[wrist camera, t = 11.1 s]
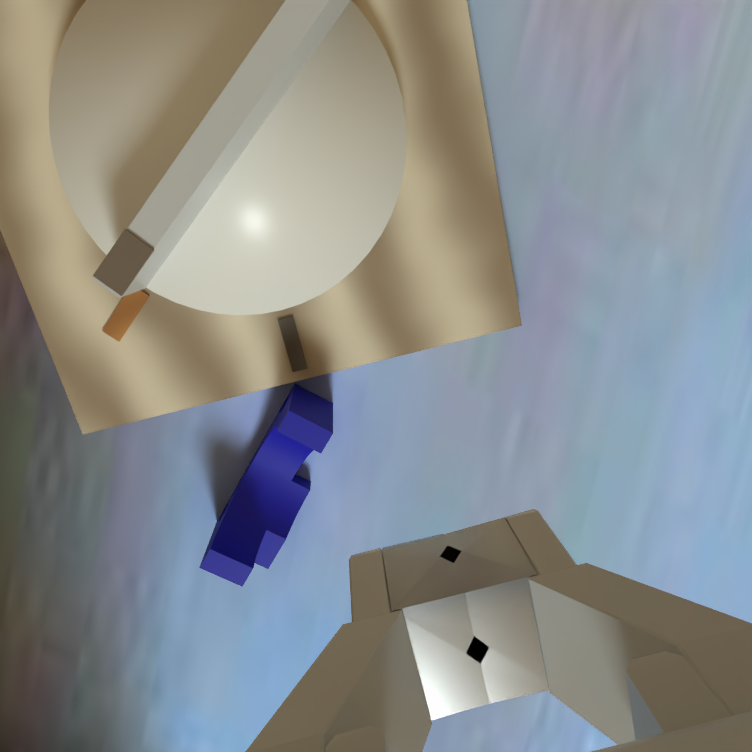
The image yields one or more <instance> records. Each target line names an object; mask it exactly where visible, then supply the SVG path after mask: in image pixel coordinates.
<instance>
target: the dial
mask: <svg viewBox="0 0 752 752" xmlns="http://www.w3.org/2000/svg"><path fill="white" fill-rule="evenodd" d="M49 130H50V139H51V145H52V150H53V156H54V161H55V164H56V168H57V171H58V174H59V177H60V181H61V184H62V186H63V188H64V191H65V193H66V195H67V197H68V200H69V202H70V204H71V207H72V208H73V210H74V212H75V213H76V215H77V217H78V218H79V220H80V222H81V224H82V225H83V227H84V229H85V230H86V231H87V232H88V234H89V235H90V236H91V238H92V239H93V240H94V242H95V243H96V244H97V246H98V247H99V248H100V249H101V250H102V251H103V252H104V253H105V254H106V255H107V256H106V257H105V258H104V260H103V261H102V263H101V264H100V266H99V267H98V269H97V270H96V271H95V273H94V274H93V276H94V278H93V280H94V281H96V282H97V283H99V284H100V285H101V286H103V287H104V288H106V289H107V290H109V291H110V292H111V293H113V294H114V295H116V296H117V297H118V298H121V297H124V296H126V295H129V294H132V293H134V292H137V291H140V290H142V289H145V288H148V289H149V290H151V291H152V292H154V293H156V294H158V295H160V296H162V297H165V298H167V299H169V300H171V301H173V302H175V303H178V304H181V305H184V306H187V307H190V308H193V309H196V310H201V311H206V312H211V313H216V314H228V315H255V314H264V313H270V312H275V311H280V310H284V309H287V308H290V307H293V306H296V305H299V304H302V303H304V302H306V301H308V300H310V299H313V298H315V297H317V296H319V295H321V294H322V293H324V292H325V291H327V290H328V289H330V288H332V287H333V286H335V285H336V284H338V283H339V282H340V281H341V280H342V279H344V278H345V277H346V276H347V275H348V274H349V273H351V272H352V271H353V270H354V269H355V268H356V267H357V266H358V265H359V264H360V262H361V261H362V260H363V259H364V258H365V257H366V256H367V255H368V253H369V252H370V251H371V249H372V248H373V246H374V245H375V243H376V242H377V240H378V239H379V238H380V236H381V235H382V233H383V231H384V229H385V227H386V225H387V223H388V221H389V219H390V217H391V215H392V212H393V209H394V207H395V204H396V201H397V198H398V195H399V192H400V188H401V183H402V179H403V174H404V168H405V158H406V147H407V146H406V120H405V113H404V107H403V100H402V96H401V92H400V88H399V85H398V81H397V77H396V74H395V71H394V69H393V67H392V64H391V62H390V59H389V57H388V54H387V52H386V50H385V48H384V46H383V44H382V43H381V41H380V39H379V37H378V35H377V34H376V32H375V30H374V28H373V27H372V26H371V24H370V23H369V21H368V20H367V19H366V17H365V16H364V15H363V13H362V12H361V11H360V9H359V8H358V7H357V6H356V5H355V3H354V2H353V1H352V0H86V1H85V2H84V4H83V5H82V6H81V8H80V9H79V11H78V12H77V13H76V15H75V17H74V19H73V21H72V22H71V24H70V26H69V28H68V30H67V32H66V34H65V36H64V38H63V41H62V44H61V46H60V49H59V52H58V55H57V58H56V61H55V65H54V70H53V75H52V80H51V84H50V97H49Z"/></svg>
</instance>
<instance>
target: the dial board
mask: <svg viewBox="0 0 752 752" xmlns="http://www.w3.org/2000/svg"><path fill="white" fill-rule="evenodd" d="M85 1H86V0H0V230H1V232H2V235H3V237H4V240H5V242H6V245H7V247H8V250H9V252H10V255H11V257H12V260H13V262H14V265H15V267H16V270H17V272H18V275H19V277H20V279H21V282H22V284H23V287H24V289H25V292H26V294H27V297H28V299H29V302H30V304H31V307H32V309H33V312H34V314H35V317H36V319H37V322H38V324H39V327H40V329H41V332H42V334H43V337H44V339H45V342H46V344H47V346H48V349H49V351H50V354H51V356H52V359H53V361H54V364H55V366H56V369H57V371H58V374H59V376H60V379H61V381H62V384H63V386H64V389H65V391H66V394H67V396H68V399H69V401H70V404H71V406H72V408H73V411H74V413H75V416H76V418H77V421H78V423H79V426H80V428H81V431H82V433H83V434H86V433H90V432H94V431H98V430H102V429H106V428H110V427H114V426H118V425H123V424H127V423H131V422H135V421H139V420H143V419H147V418H151V417H155V416H159V415H163V414H167V413H171V412H175V411H179V410H183V409H187V408H191V407H195V406H199V405H203V404H207V403H211V402H215V401H219V400H223V399H227V398H231V397H235V396H240V395H244V394H248V393H252V392H256V391H260V390H264V389H268V388H272V387H276V386H280V385H284V384H288V383H292V382H296V381H300V380H304V379H308V378H312V377H316V376H320V375H324V374H328V373H332V372H336V371H340V370H344V369H348V368H352V367H357V366H361V365H365V364H369V363H373V362H377V361H381V360H385V359H389V358H393V357H397V356H401V355H405V354H409V353H413V352H417V351H421V350H425V349H429V348H433V347H437V346H441V345H445V344H449V343H453V342H457V341H461V340H465V339H470V338H474V337H478V336H482V335H486V334H490V333H494V332H498V331H502V330H506V329H510V328H514V327H518V326H522V324H521V318H520V312H519V306H518V300H517V294H516V288H515V283H514V277H513V271H512V265H511V259H510V253H509V247H508V241H507V235H506V229H505V223H504V218H503V212H502V206H501V200H500V194H499V188H498V182H497V176H496V170H495V164H494V159H493V153H492V147H491V141H490V135H489V129H488V123H487V117H486V111H485V105H484V99H483V94H482V88H481V82H480V76H479V70H478V64H477V58H476V52H475V46H474V40H473V35H472V29H471V23H470V17H469V11H468V5H467V0H352V1H353V2H354V3H355V5H356V6H357V7H358V8H359V9H360V11H361V12H362V13H363V15H364V16H365V17H366V19H367V20H368V21H369V23H370V24H371V26H372V27H373V28H374V30H375V32H376V34H377V35H378V37H379V39H380V41H381V43H382V44H383V46H384V48H385V50H386V52H387V54H388V57H389V59H390V62H391V64H392V67H393V69H394V71H395V74H396V77H397V81H398V85H399V88H400V92H401V96H402V100H403V107H404V113H405V120H406V146H407V147H406V158H405V168H404V174H403V179H402V183H401V188H400V192H399V195H398V198H397V201H396V204H395V207H394V209H393V212H392V215H391V217H390V219H389V221H388V223H387V225H386V227H385V229H384V231H383V233H382V235H381V236H380V238H379V239H378V240H377V242H376V243H375V245H374V246H373V248H372V249H371V251H370V252H369V253H368V255H367V256H366V257H365V258H364V259H363V260H362V261H361V262H360V264H359V265H358V266H357V267H356V268H355V269H354V270H353V271H352V272H351V273H349V274H348V275H347V276H346V277H345V278H344V279H342V280H341V281H340V282H339V283H338V284H336V285H335V286H333V287H332V288H330V289H328V290H327V291H325V292H324V293H322V294H321V295H319V296H317V297H315V298H313V299H310V300H308V301H306V302H304V303H302V304H299V305H296V306H293V307H290V308H287V309H284V310H280V311H275V312H270V313H264V314H255V315H228V314H216V313H211V312H206V311H201V310H196V309H193V308H190V307H187V306H184V305H181V304H178V303H175V302H173V301H171V300H169V299H167V298H165V297H162V296H160V295H158V294H156V293H154V292H152V291H151V290H149V289H148V288H145V289H142V290H140V291H137V292H134V293H132V294H129V295H126V296H124V297H121V298H118V297H117V296H116V295H114V294H113V293H111V292H110V291H109V290H107V289H106V288H104V287H103V286H101V285H100V284H99V283H97V282H96V281H94V280H93V278H94V276H93V274H94V273H95V271H96V270H97V269H98V267H99V266H100V264H101V263H102V261H103V260H104V258H105V257H106V256H107V255H106V254H105V253H104V252H103V251H102V250H101V249H100V248H99V247H98V246H97V244H96V243H95V242H94V240H93V239H92V238H91V236H90V235H89V234H88V232H87V231H86V230H85V229H84V227H83V225H82V224H81V222H80V220H79V218H78V217H77V215H76V213H75V212H74V210H73V208H72V207H71V204H70V202H69V200H68V197H67V195H66V193H65V191H64V188H63V186H62V184H61V181H60V177H59V174H58V171H57V168H56V164H55V161H54V156H53V150H52V145H51V139H50V130H49V97H50V84H51V80H52V75H53V70H54V65H55V61H56V58H57V55H58V52H59V49H60V46H61V44H62V41H63V38H64V36H65V34H66V32H67V30H68V28H69V26H70V24H71V22H72V21H73V19H74V17H75V15H76V13H77V12H78V11H79V9H80V8H81V6H82V5H83V4H84V2H85Z"/></svg>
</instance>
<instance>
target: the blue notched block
mask: <svg viewBox="0 0 752 752" xmlns="http://www.w3.org/2000/svg"><path fill="white" fill-rule="evenodd" d="M332 434H333V403H331V402H329V401H327V400H325V399H323V398H321V397H320V396H318V395H316V394H314V393H312V392H310V391H308V390H306V389H304V388H302V387H300V386H299V385H297V384H294V386H293V388H292V390H291V391H290V393H289V395H288V397H287V398H286V400H285V402H284V404H283V405H282V407H281V409H280V411H279V413H278V414H277V416H276V418H275V420H274V421H273V423H272V425H271V427H270V429H269V430H268V432H267V434H266V436H265V437H264V439H263V441H262V443H261V444H260V446H259V448H258V450H257V452H256V453H255V455H254V457H253V459H252V460H251V462H250V464H249V466H248V468H247V469H246V471H245V473H244V475H243V476H242V478H241V480H240V482H239V483H238V485H237V487H236V489H235V491H234V492H233V494H232V496H231V498H230V499H229V501H228V503H227V505H226V507H225V508H224V510H223V512H222V514H221V515H220V517H219V519H218V521H217V523H216V526H215V528H214V531H213V533H212V536H211V539H210V541H209V544H208V547H207V549H206V552H205V555H204V557H203V560H202V563H201V565H200V568H201V569H204V570H206V571H208V572H210V573H213V574H215V575H217V576H220V577H222V578H224V579H226V580H229V581H231V582H233V583H235V584H238V585H240V586H243V585H244V583H245V581H246V579H247V578H248V576H249V574H250V573H251V571H252V569H253V567H254V563H256V564H258V565H261V566H263V567H265V568H267V569H268V568H269V567H270V565H271V563H272V562H273V560H274V558H275V557H276V555H277V553H278V552H279V550H280V548H281V547H282V545H283V543H284V542H285V540H286V538H287V535H288V533H289V531H290V528H291V526H292V524H293V522H294V520H295V517H296V515H297V513H298V511H299V509H300V507H301V506H302V504H303V502H304V500H305V498H306V496H307V495H308V493H309V491H310V485H311V482H310V481H308V480H306V479H304V478H302V477H300V476H298V475H296V472H297V470H298V469H299V467H300V466H301V464H302V463H303V462H304V460H305V459H306V458H307V456H308V455H309V454H310V453H311V452H312V451H313V450H315V451H317V452H319V453H321V452H322V451H323V449H324V447H325V446H326V444H327V442H328V441H329V439H330V437H331V436H332Z"/></svg>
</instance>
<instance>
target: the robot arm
mask: <svg viewBox="0 0 752 752" xmlns="http://www.w3.org/2000/svg"><path fill="white" fill-rule="evenodd" d="M349 571H350V592H351V613H352V622H351V623H347V624H343V625H342V626H341V628H340V629H339V630H338V632H337V633H336V634H335V635H334V637H333V638H332V639H331V641H330V642H329V643H328V645H327V646H326V647H325V649H324V650H323V651H322V652H321V654H320V655H319V656H318V658H317V659H316V660H315V662H314V663H313V664H312V666H311V667H310V668H309V669H308V671H307V672H306V673H305V675H304V676H303V677H302V679H301V680H300V681H299V683H298V684H297V685H296V686H295V688H294V689H293V690H292V692H291V693H290V694H289V696H288V697H287V698H286V700H285V701H284V702H283V703H282V705H281V706H280V707H279V709H278V710H277V711H276V713H275V714H274V715H273V717H272V718H271V719H270V720H269V722H268V723H267V724H266V726H265V727H264V728H263V730H262V731H261V732H260V734H259V735H258V736H257V737H256V739H255V740H254V741H253V743H252V744H251V745H250V747H249V748H248V749H247V751H246V752H422V750H423V747H424V744H425V742H426V739H427V736H428V733H429V731H430V728H431V725H432V722H431V720H433V719H437V718H440V717H444V716H447V715H451V714H454V713H458V712H461V711H465V710H468V709H472V708H475V707H479V706H482V705H486V704H489V702H490V703H494V702H498V701H503V700H507V699H512V698H516V697H521V696H525V695H530V694H534V693H539V692H543V691H548V690H550V693H551V694H552V695H553V696H555V697H556V698H557V699H559V700H560V701H561V702H563V703H564V704H565V705H567V706H568V707H569V708H570V709H572V710H573V711H574V712H576V713H577V714H578V715H580V716H581V717H582V718H584V719H585V720H586V721H588V722H589V723H590V724H591V725H593V726H594V727H595V728H597V729H598V730H599V731H601V732H602V733H603V734H605V735H606V736H607V737H609V738H610V739H611V740H613V741H614V742H615V743H616V744H618V745H615V746H612V747H608V748H604V749H600V750H596V751H592V752H752V623H749V622H746V621H743V620H741V619H738V618H735V617H733V616H730V615H727V614H724V613H722V612H719V611H716V610H713V609H711V608H708V607H705V606H702V605H700V604H697V603H694V602H692V601H689V600H686V599H683V598H681V597H678V596H675V595H672V594H670V593H667V592H664V591H661V590H659V589H656V588H653V587H651V586H648V585H645V584H642V583H640V582H637V581H634V580H631V579H629V578H626V577H623V576H620V575H618V574H615V573H612V572H610V571H607V570H604V569H601V568H599V567H596V566H593V565H590V564H588V563H585V564H581V565H577V564H576V563H575V562H574V560H573V559H572V557H571V556H570V555H569V553H568V552H567V550H566V549H565V548H564V546H563V545H562V544H561V542H560V541H559V539H558V538H557V537H556V535H555V534H554V532H553V531H552V530H551V528H550V527H549V525H548V524H547V523H546V521H545V520H544V518H543V517H542V516H541V514H540V513H539V511H537V510H535V509H532V510H528V511H525V512H522V513H518V514H515V515H512V516H508V517H505V518H501V519H497V520H494V521H490V522H487V523H483V524H480V525H476V526H472V527H469V528H465V529H462V530H458V531H454V532H451V533H447V534H440V535H436V536H431V537H427V538H423V539H418V540H414V541H410V542H405V543H401V544H397V545H392V546H388V547H384V548H382V550H381V549H380V548H378V549H374V550H370V551H367V552H363V553H359V554H355V555H352V556H351V557H350V559H349Z"/></svg>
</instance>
